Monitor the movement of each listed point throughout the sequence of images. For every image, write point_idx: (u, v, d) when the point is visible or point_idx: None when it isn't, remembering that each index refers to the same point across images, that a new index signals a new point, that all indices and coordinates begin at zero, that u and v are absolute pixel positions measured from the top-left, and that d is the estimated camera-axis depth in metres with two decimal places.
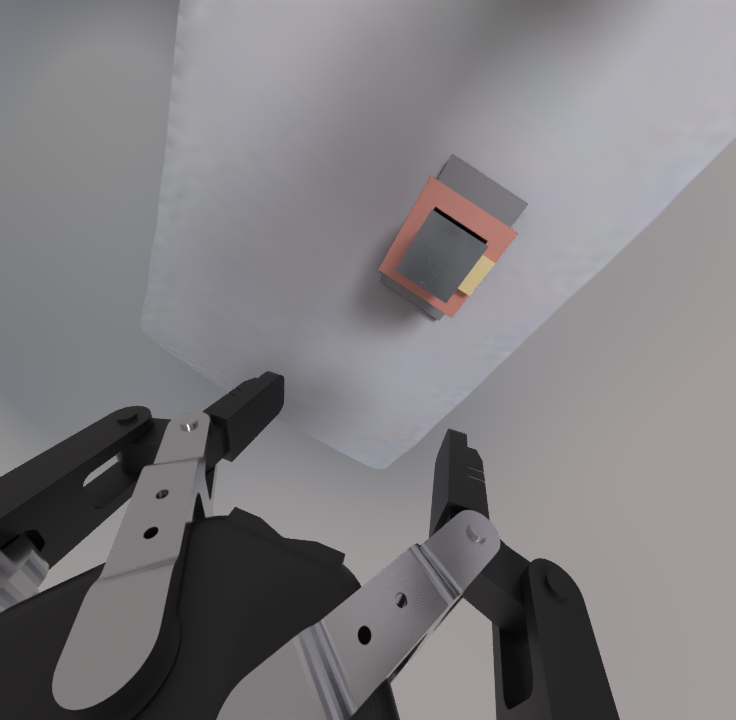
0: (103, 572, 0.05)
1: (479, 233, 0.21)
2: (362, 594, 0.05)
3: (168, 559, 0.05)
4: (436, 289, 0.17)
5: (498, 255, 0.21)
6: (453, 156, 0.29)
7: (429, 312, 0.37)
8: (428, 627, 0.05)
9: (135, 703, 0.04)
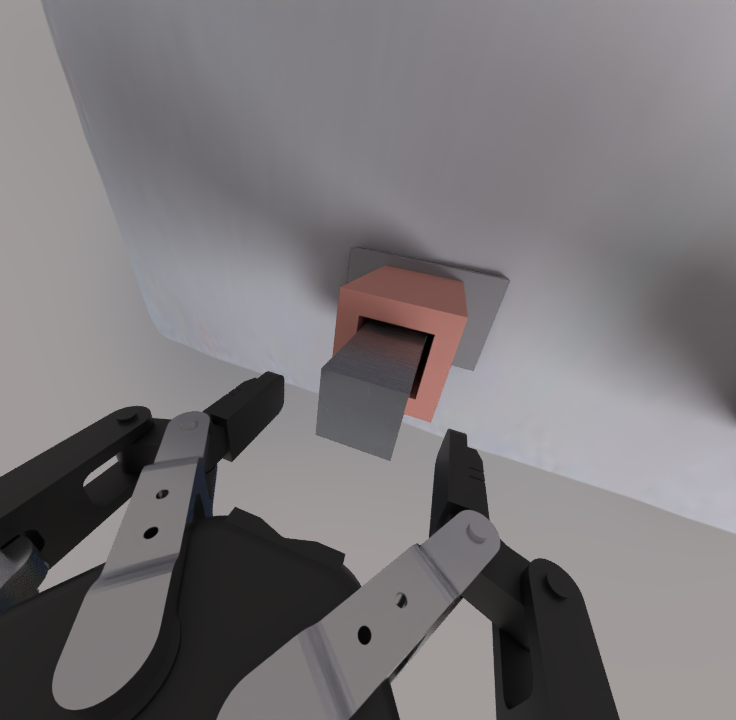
0: (103, 572, 0.05)
1: (420, 389, 0.18)
2: (362, 594, 0.05)
3: (168, 559, 0.05)
4: (324, 421, 0.13)
5: (405, 412, 0.19)
6: (507, 282, 0.25)
7: None
8: (428, 627, 0.05)
9: (135, 703, 0.04)
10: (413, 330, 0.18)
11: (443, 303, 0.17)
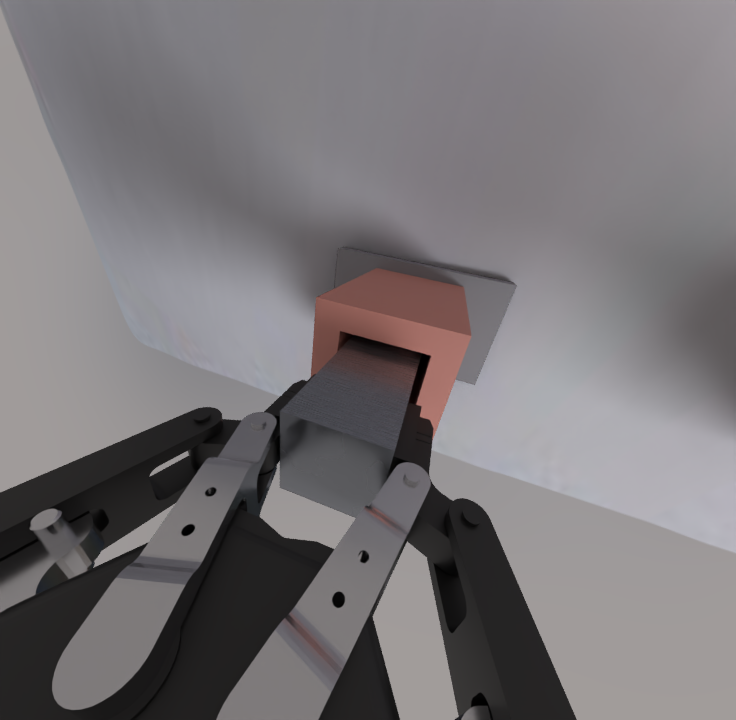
0: (139, 556, 0.05)
1: None
2: (362, 594, 0.05)
3: (190, 566, 0.05)
4: (289, 474, 0.10)
5: None
6: (513, 288, 0.22)
7: None
8: (390, 567, 0.06)
9: (135, 703, 0.04)
10: None
11: (441, 316, 0.14)
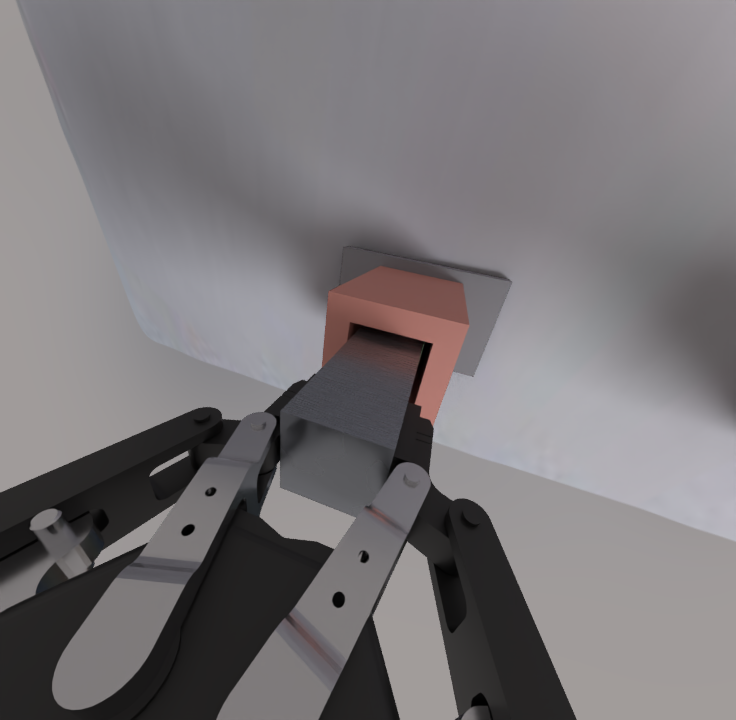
0: (139, 556, 0.05)
1: (417, 401, 0.17)
2: (362, 594, 0.05)
3: (190, 566, 0.05)
4: (289, 474, 0.10)
5: None
6: (509, 284, 0.24)
7: None
8: (390, 568, 0.06)
9: (135, 703, 0.04)
10: (405, 348, 0.15)
11: (442, 308, 0.16)
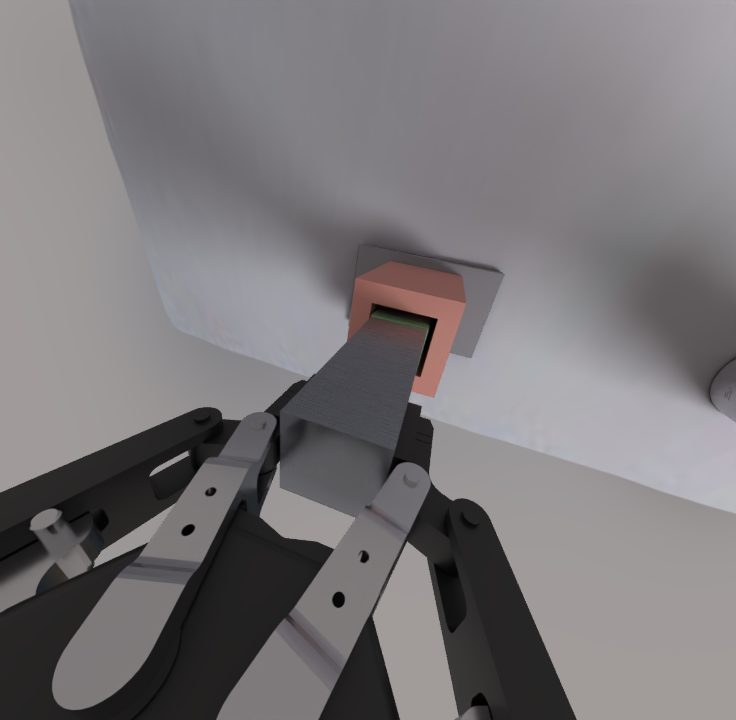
0: (139, 556, 0.05)
1: (424, 368, 0.21)
2: (362, 594, 0.05)
3: (190, 566, 0.05)
4: (289, 474, 0.10)
5: None
6: (501, 276, 0.28)
7: (351, 313, 0.34)
8: (390, 567, 0.06)
9: (135, 703, 0.04)
10: (405, 348, 0.15)
11: (445, 292, 0.20)
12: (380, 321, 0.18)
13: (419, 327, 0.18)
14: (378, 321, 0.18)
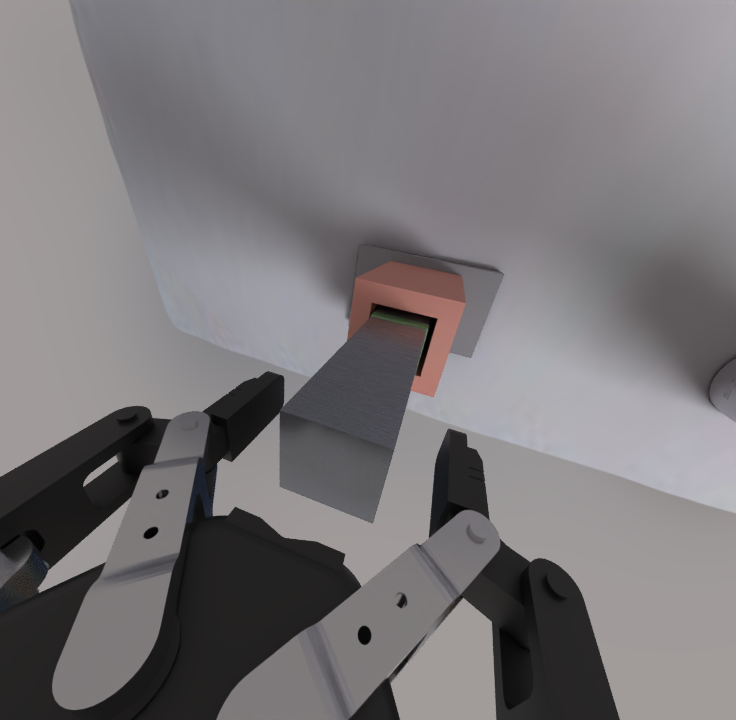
0: (103, 572, 0.05)
1: (424, 367, 0.21)
2: (362, 594, 0.05)
3: (168, 559, 0.05)
4: (289, 473, 0.10)
5: (411, 388, 0.22)
6: (501, 276, 0.28)
7: None
8: (428, 627, 0.05)
9: (135, 703, 0.04)
10: (405, 347, 0.15)
11: (444, 292, 0.20)
12: (380, 321, 0.18)
13: (419, 327, 0.18)
14: (378, 321, 0.18)
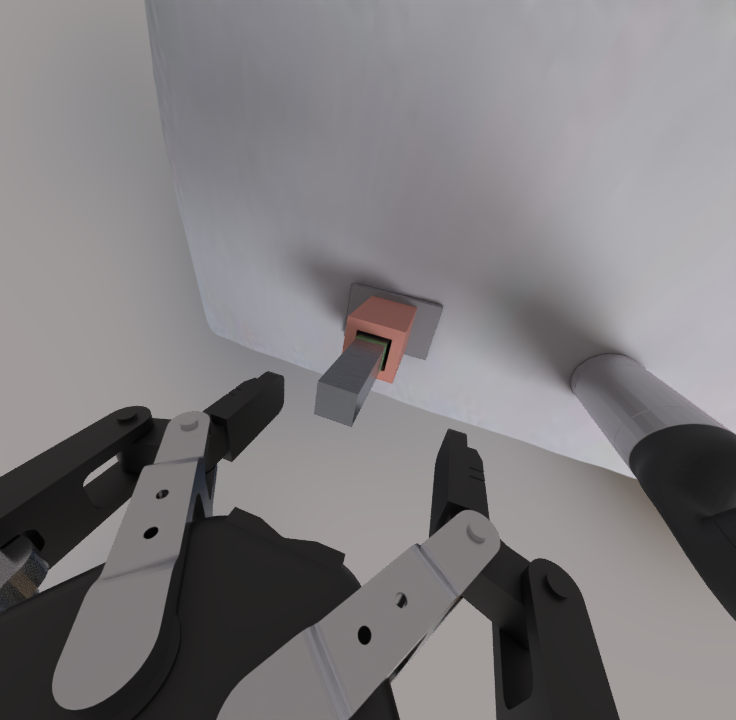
0: (103, 572, 0.05)
1: (386, 366, 0.37)
2: (362, 594, 0.05)
3: (168, 559, 0.05)
4: (319, 407, 0.26)
5: (379, 378, 0.38)
6: (441, 309, 0.44)
7: (345, 327, 0.50)
8: (428, 627, 0.05)
9: (135, 703, 0.04)
10: (370, 356, 0.31)
11: (397, 324, 0.36)
12: (360, 341, 0.34)
13: (381, 344, 0.34)
14: (359, 341, 0.34)
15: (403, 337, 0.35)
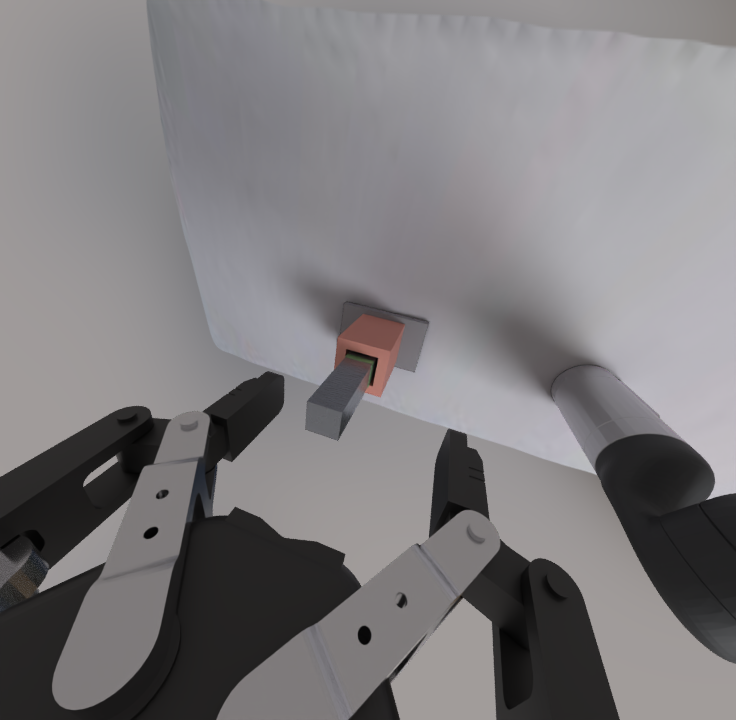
0: (103, 572, 0.05)
1: (374, 381, 0.40)
2: (362, 594, 0.05)
3: (168, 559, 0.05)
4: (309, 423, 0.30)
5: (368, 392, 0.41)
6: (427, 325, 0.47)
7: None
8: (428, 627, 0.05)
9: (135, 703, 0.04)
10: (357, 375, 0.34)
11: (383, 343, 0.39)
12: (349, 360, 0.37)
13: (368, 363, 0.38)
14: (348, 360, 0.37)
15: (388, 355, 0.38)
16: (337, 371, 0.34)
